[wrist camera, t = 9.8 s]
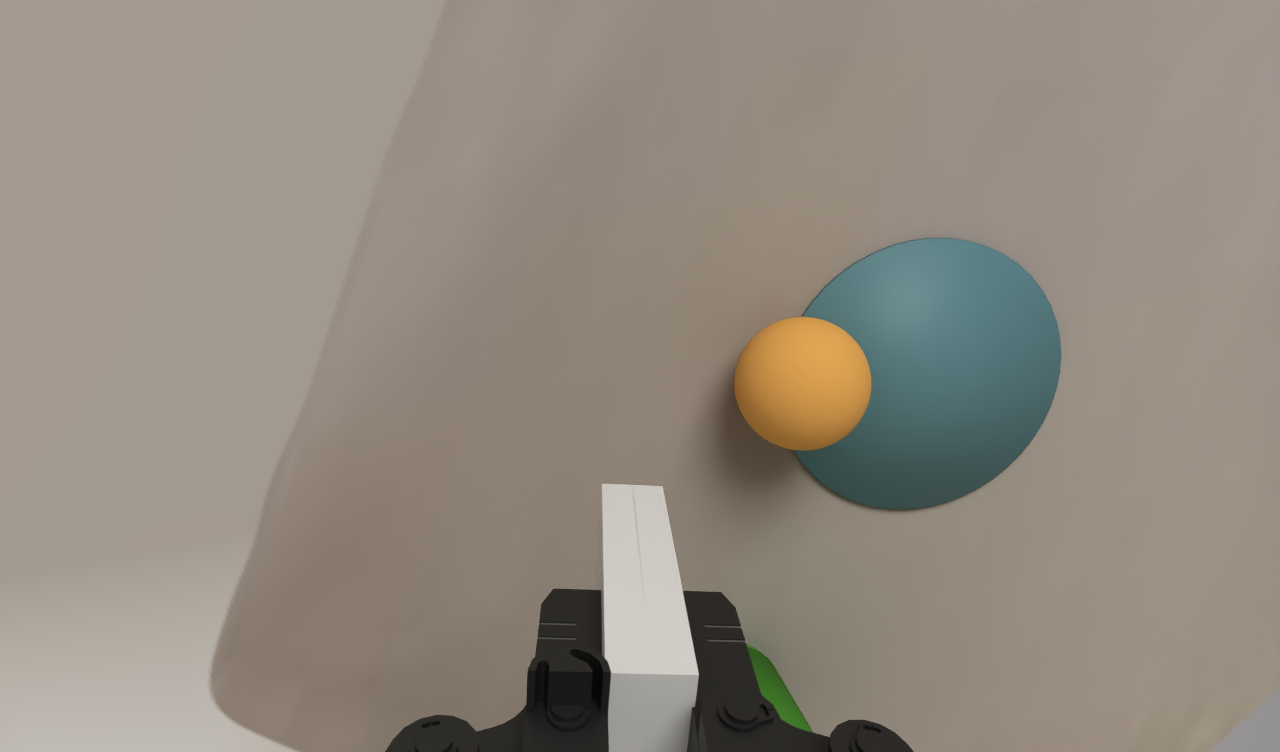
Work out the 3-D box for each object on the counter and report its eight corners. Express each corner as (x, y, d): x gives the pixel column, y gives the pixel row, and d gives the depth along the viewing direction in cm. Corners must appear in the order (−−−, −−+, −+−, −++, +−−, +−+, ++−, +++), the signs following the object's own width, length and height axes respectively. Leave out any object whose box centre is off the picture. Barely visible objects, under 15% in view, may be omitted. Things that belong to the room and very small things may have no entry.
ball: (711, 326, 28) (760, 307, 32) (715, 459, 29) (761, 423, 33) (854, 330, 25) (885, 309, 30) (852, 478, 26) (882, 435, 31)
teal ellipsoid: (1091, 248, 31) (1094, 249, 31) (1019, 512, 35) (1022, 514, 35) (801, 227, 30) (802, 228, 30) (761, 502, 34) (762, 504, 34)
